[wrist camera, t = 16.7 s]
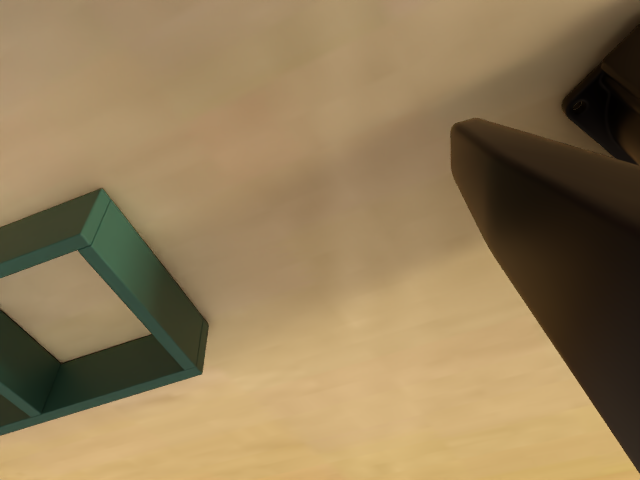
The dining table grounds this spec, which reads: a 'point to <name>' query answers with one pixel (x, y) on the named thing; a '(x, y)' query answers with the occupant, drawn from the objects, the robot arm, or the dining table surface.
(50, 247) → the rack
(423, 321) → the dining table surface
